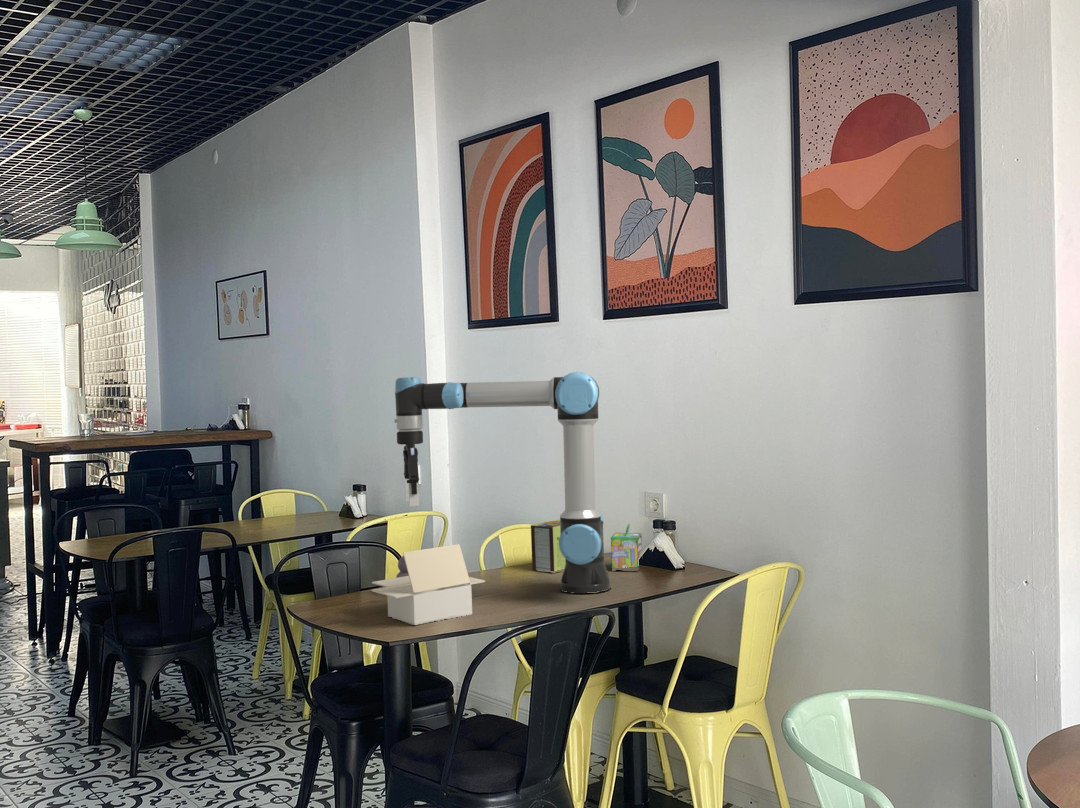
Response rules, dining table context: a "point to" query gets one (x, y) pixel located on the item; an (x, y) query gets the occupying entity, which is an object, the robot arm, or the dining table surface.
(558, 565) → the protein box
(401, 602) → the carton
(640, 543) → the chalk box
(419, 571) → the flap
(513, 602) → the dining table surface
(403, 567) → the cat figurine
